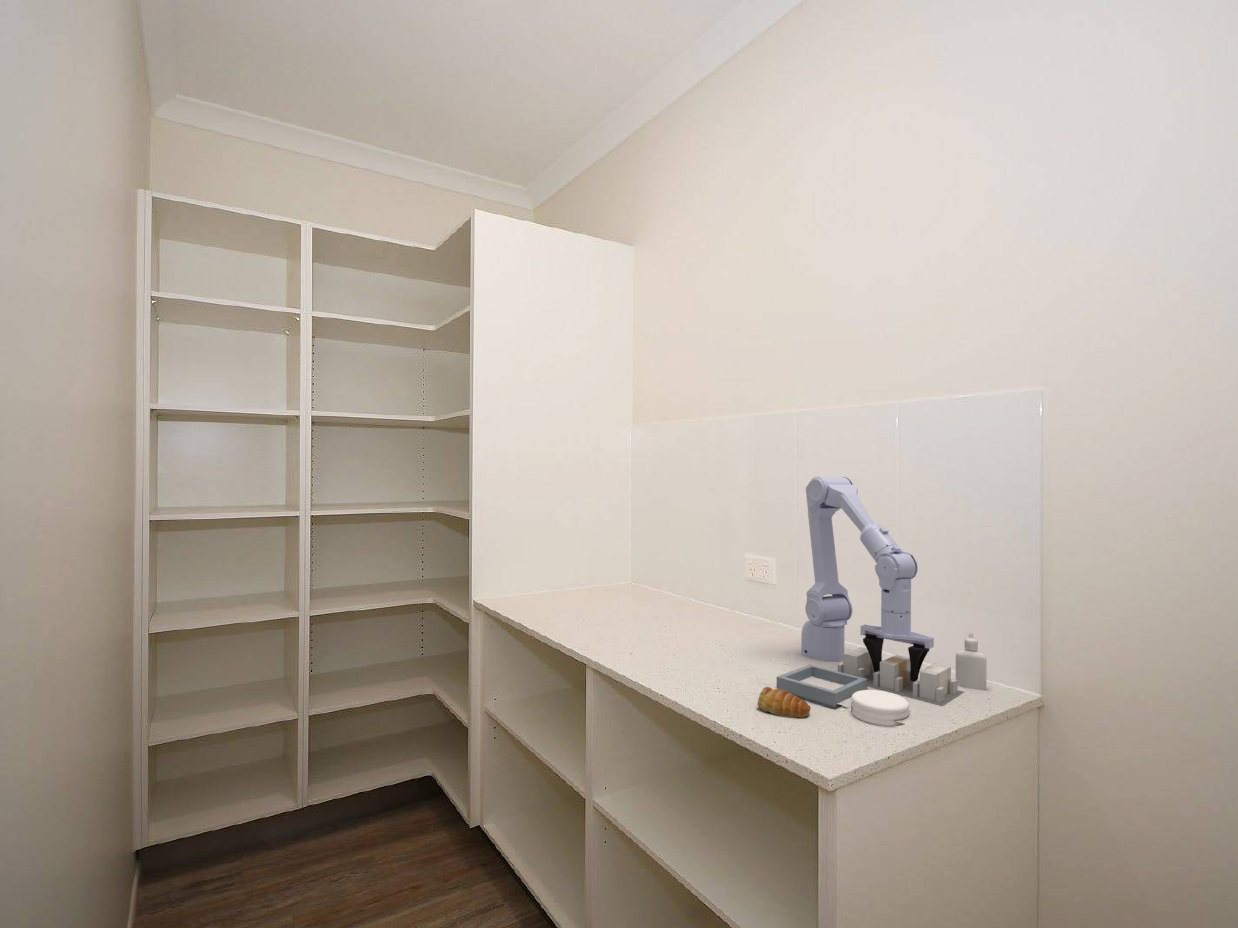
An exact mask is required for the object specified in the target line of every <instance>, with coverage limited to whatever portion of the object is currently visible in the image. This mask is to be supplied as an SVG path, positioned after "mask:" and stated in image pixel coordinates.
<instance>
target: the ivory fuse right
mask: <svg viewBox="0 0 1238 928" xmlns="http://www.w3.org/2000/svg"><path fill="white" fill-rule="evenodd" d="M951 680H952V666H949V665H944V664H941V663H940V664H939V663H933V664H931V665H930V666H927V667H925V668H923V669H920V672H919V681H920V696H919V697H923V698H926V699H930V700H934V701H936V689H937V688H939V687H944V695H946V694H947V693H949V692H950V681H951Z"/></svg>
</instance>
